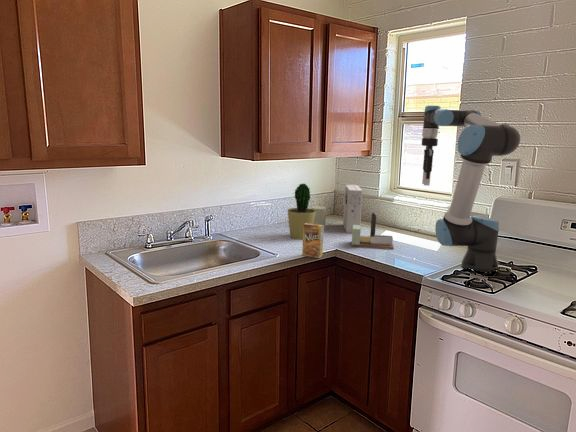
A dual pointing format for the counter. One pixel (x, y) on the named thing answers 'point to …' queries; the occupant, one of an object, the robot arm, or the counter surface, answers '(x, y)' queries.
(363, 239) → the upright peg on base
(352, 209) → the white upright box
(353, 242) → the socket block
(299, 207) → the potted cactus
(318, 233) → the candy box
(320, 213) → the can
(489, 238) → the robot arm
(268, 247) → the counter surface
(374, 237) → the sleeve
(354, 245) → the base board
